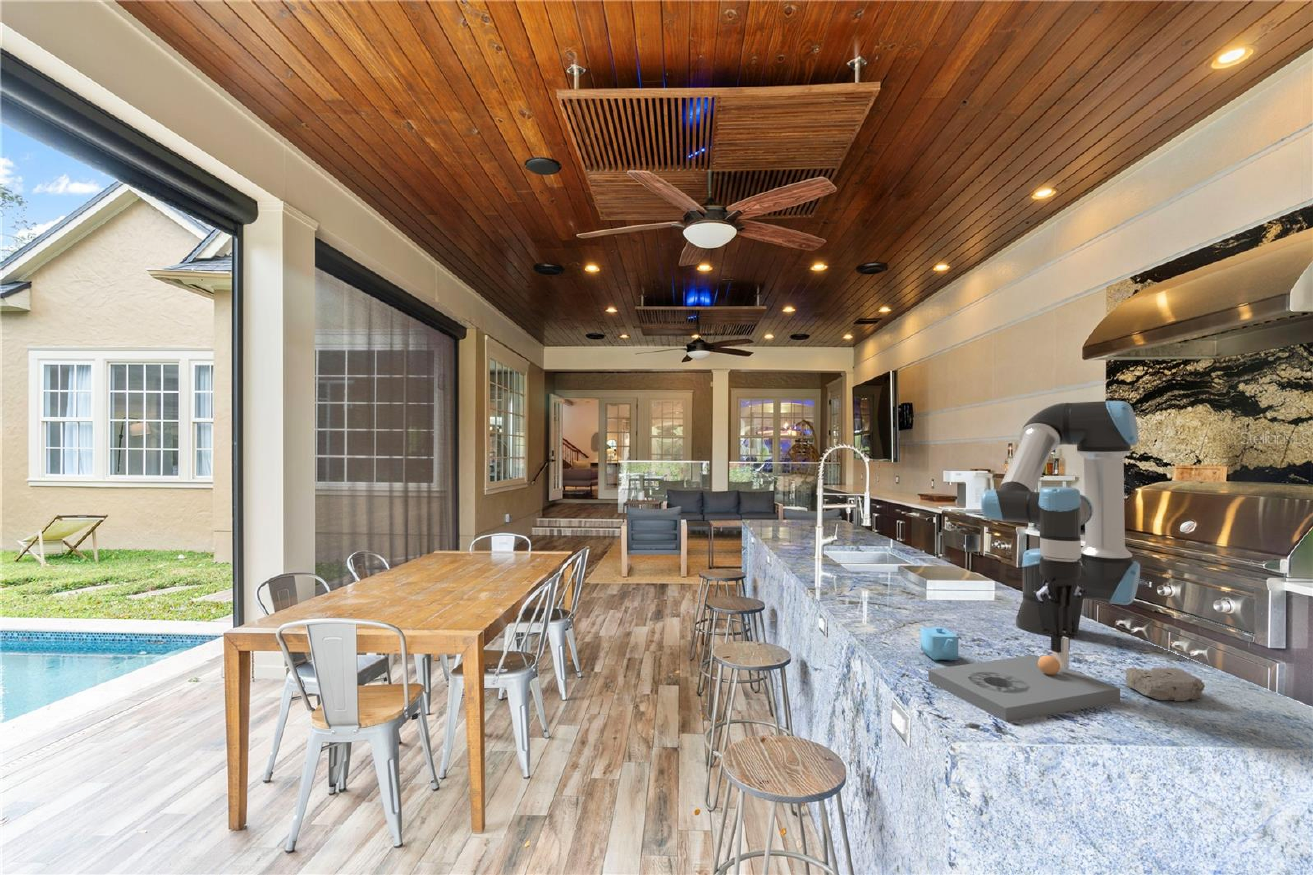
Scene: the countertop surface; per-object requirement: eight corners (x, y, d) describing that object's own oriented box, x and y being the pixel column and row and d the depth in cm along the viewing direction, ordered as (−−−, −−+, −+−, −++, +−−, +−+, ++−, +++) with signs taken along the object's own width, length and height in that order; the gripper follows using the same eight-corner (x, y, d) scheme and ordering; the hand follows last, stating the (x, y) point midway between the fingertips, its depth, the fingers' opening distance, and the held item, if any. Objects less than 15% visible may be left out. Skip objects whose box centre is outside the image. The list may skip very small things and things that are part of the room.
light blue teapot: (965, 668, 141) (965, 636, 141) (939, 668, 141) (938, 636, 142) (942, 651, 153) (942, 621, 153) (918, 650, 153) (918, 621, 154)
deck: (1032, 667, 142) (1032, 655, 142) (1120, 703, 123) (1120, 688, 123) (928, 683, 133) (928, 669, 133) (1005, 724, 114) (1005, 708, 114)
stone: (1114, 684, 131) (1160, 706, 121) (1117, 658, 131) (1164, 678, 121) (1164, 685, 133) (1213, 708, 123) (1167, 660, 133) (1217, 680, 123)
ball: (1047, 669, 133) (1047, 651, 133) (1064, 676, 129) (1064, 657, 129) (1033, 671, 131) (1033, 653, 131) (1050, 678, 127) (1050, 659, 128)
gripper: (1065, 553, 137) (1066, 657, 136) (1021, 556, 133) (1022, 663, 132) (1098, 559, 129) (1099, 669, 129) (1053, 563, 126) (1054, 676, 125)
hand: (1060, 666), depth 131 cm, fingers closed
